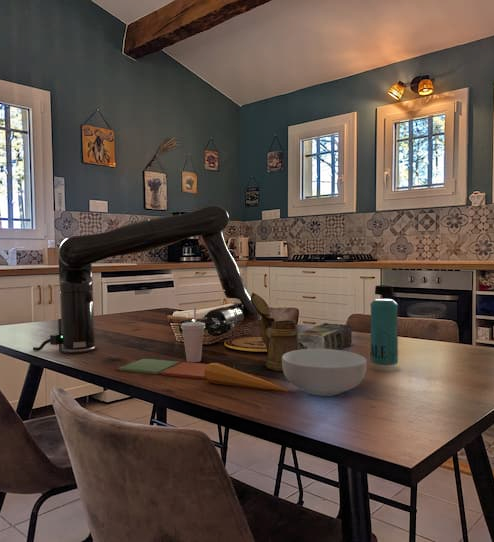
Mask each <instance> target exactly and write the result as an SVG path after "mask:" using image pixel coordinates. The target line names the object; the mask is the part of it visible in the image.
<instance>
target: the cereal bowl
mask: <svg viewBox="0 0 494 542" xmlns="http://www.w3.org/2000/svg"><path fill="white" fill-rule="evenodd" d="M282 368H283V371H282V372H283V375H284V377H285V378H286V380H287V381H288V382H289V383H291V384H292V385H293V386H295V387H296V388H299V389H302V390H303V391H304V393H307V394H309V395H312V396H317V397H319V396H320V397H334V396H338V395H341V394H343V393H344V392H346V391H349V390H352V389H354V388H356V387H357V386H359V385H360V384H361V382H362V381H363V379H364V378H365V375H366V370H367V358H366V357H365V356H363V355H361V354H358V353H356V352H352V351H348V350H347V351H346V350H341V349H339V350H333V349H301V350H295V351H290V352H287V353H285V354H284V355H283V356H282Z"/></svg>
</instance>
